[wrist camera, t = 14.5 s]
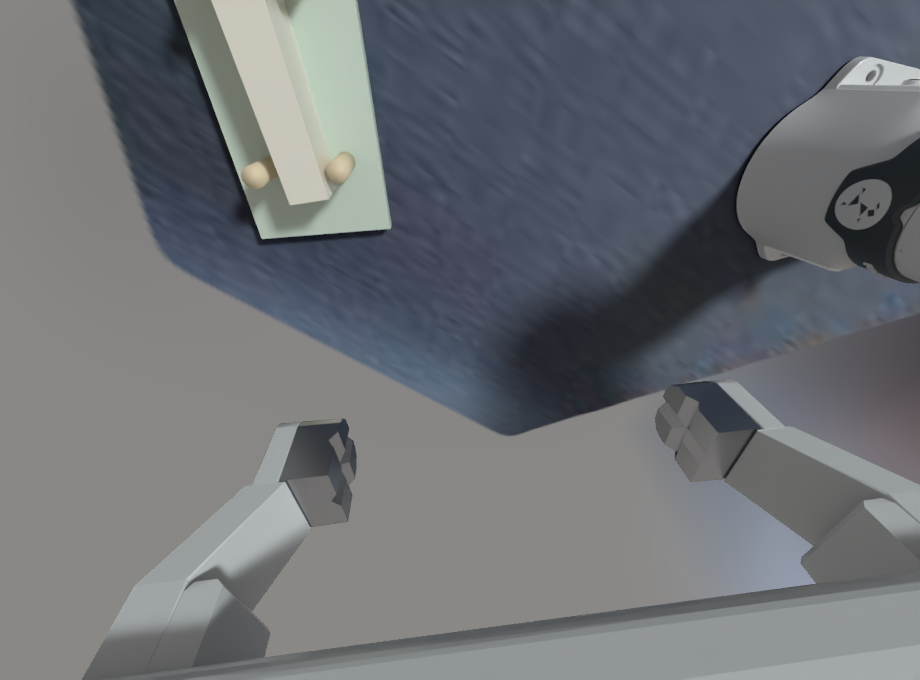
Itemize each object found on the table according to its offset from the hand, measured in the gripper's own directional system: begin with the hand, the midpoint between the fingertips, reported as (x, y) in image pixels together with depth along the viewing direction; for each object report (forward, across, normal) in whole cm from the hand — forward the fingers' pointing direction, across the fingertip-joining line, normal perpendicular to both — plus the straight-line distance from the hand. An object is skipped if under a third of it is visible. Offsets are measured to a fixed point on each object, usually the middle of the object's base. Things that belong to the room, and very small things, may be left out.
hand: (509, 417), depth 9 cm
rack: (+30, +11, -8) cm, 33 cm away
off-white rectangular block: (+29, +11, -8) cm, 32 cm away
